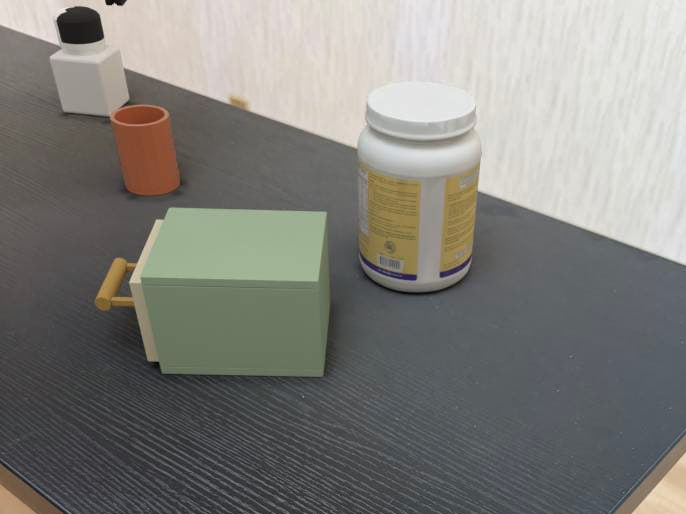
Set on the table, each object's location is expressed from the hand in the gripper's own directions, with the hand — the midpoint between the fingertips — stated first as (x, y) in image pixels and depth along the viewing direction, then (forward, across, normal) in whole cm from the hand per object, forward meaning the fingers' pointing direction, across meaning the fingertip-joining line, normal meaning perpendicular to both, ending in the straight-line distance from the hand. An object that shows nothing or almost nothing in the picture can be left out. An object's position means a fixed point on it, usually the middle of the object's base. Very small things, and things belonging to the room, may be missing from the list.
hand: (117, 1), depth 85 cm
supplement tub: (+20, -32, +19) cm, 42 cm away
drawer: (+18, -12, +33) cm, 39 cm away
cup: (+19, 0, 0) cm, 19 cm away
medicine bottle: (+20, +13, -25) cm, 34 cm away
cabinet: (+19, -16, +33) cm, 41 cm away
